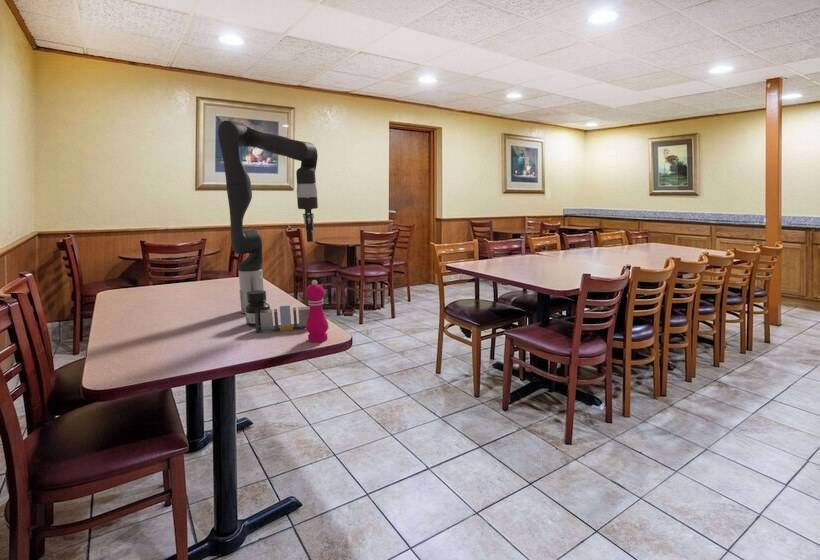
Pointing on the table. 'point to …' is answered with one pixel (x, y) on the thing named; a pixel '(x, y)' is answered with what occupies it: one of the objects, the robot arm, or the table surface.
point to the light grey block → (285, 315)
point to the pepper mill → (316, 314)
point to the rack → (267, 320)
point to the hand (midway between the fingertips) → (309, 241)
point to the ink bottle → (255, 305)
